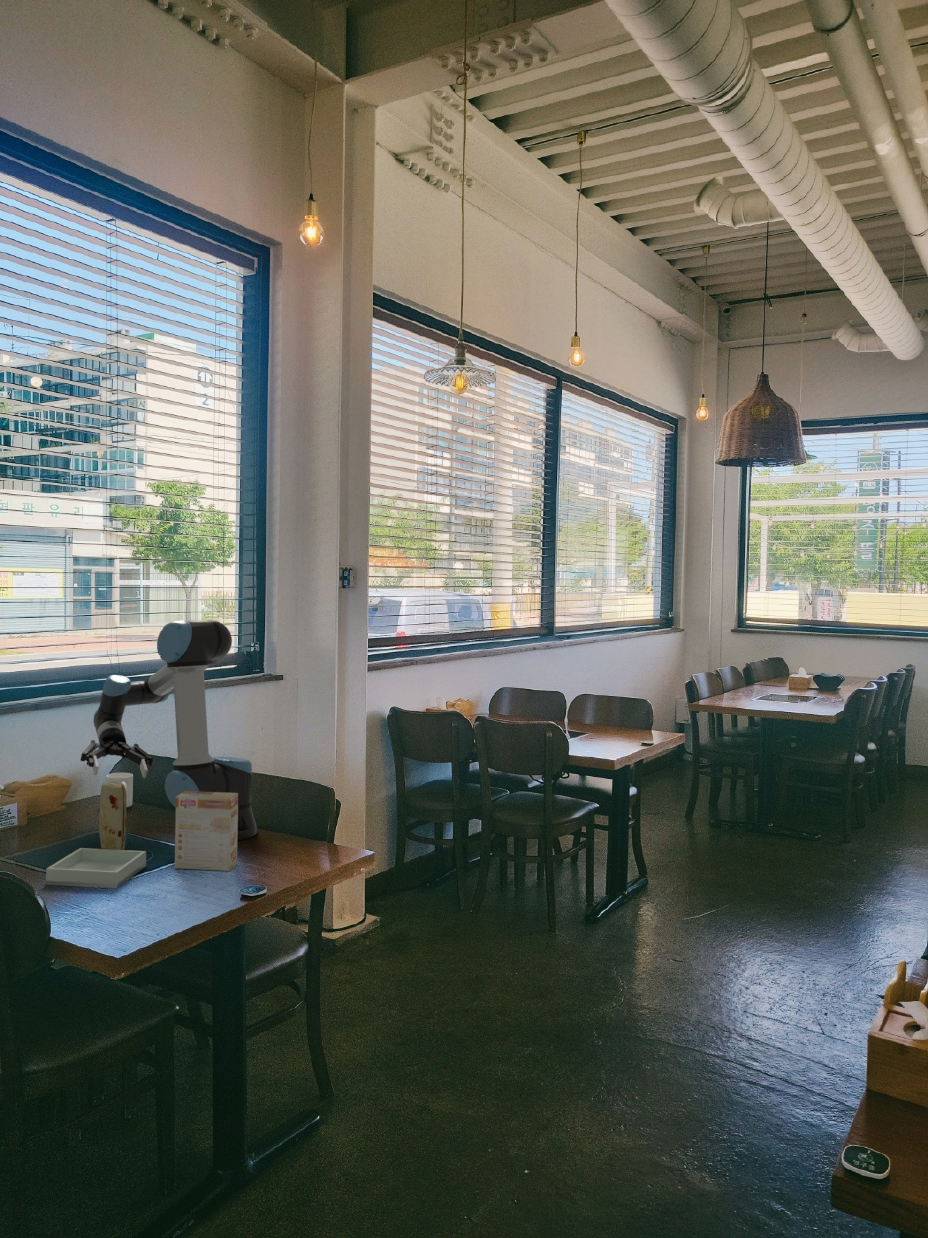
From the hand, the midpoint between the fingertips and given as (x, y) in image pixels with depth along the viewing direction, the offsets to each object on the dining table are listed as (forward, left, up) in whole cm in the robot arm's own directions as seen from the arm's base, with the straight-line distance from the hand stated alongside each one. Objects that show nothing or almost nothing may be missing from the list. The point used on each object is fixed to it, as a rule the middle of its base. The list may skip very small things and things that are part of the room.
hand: (121, 772), depth 268 cm
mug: (+17, -40, -21) cm, 48 cm away
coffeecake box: (-31, +16, -21) cm, 41 cm away
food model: (-2, +9, -21) cm, 23 cm away
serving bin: (-6, +28, -21) cm, 35 cm away
